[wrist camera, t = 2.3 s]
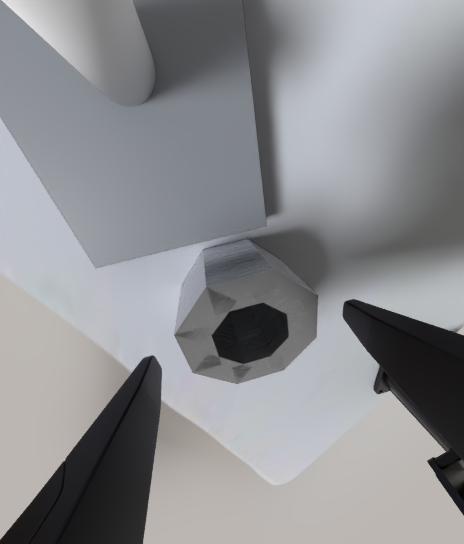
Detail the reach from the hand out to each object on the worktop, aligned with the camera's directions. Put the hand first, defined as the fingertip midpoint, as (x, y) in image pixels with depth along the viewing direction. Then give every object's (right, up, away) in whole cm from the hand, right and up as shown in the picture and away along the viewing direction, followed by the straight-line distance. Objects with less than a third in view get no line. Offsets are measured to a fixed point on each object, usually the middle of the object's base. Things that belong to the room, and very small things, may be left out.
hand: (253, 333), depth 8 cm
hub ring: (-1, +2, +3) cm, 4 cm away
